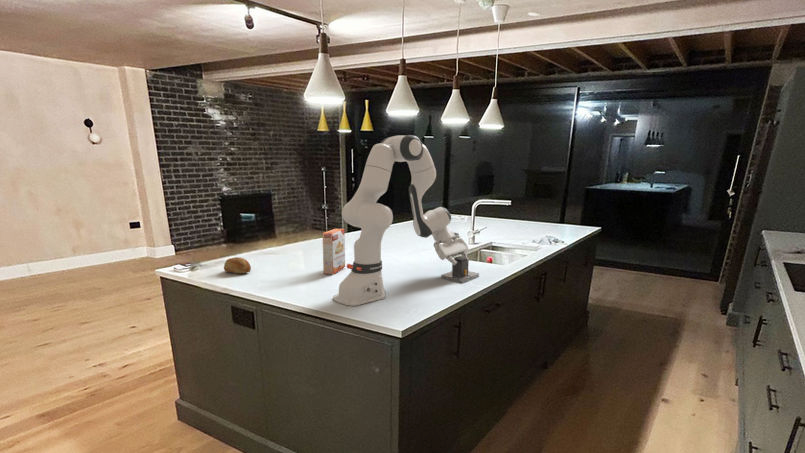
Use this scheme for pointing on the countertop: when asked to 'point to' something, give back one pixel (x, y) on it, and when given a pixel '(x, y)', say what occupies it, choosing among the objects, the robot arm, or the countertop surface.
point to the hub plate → (460, 279)
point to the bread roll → (237, 265)
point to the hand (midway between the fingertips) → (461, 262)
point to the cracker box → (333, 251)
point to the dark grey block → (460, 266)
